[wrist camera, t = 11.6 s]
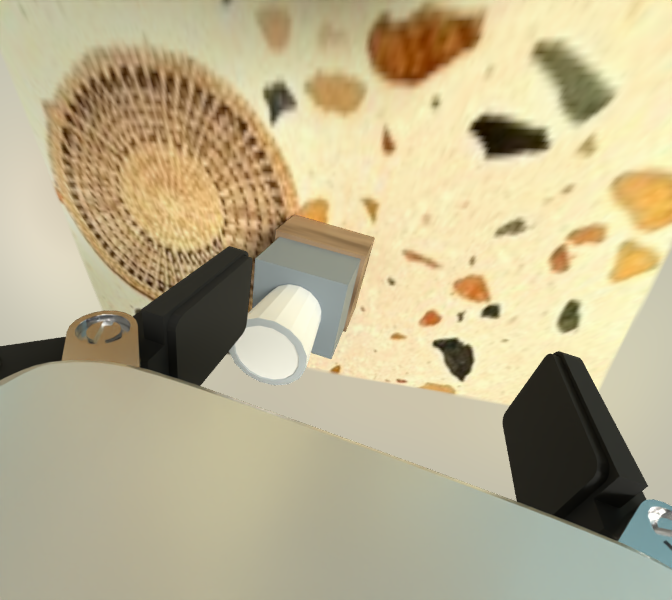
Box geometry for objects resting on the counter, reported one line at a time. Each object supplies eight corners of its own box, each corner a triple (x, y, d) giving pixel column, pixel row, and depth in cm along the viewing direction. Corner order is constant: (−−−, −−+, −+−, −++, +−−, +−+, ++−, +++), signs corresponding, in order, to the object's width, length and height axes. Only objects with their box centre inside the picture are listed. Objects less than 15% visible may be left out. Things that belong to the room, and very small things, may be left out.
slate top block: (279, 236, 38) (255, 258, 33) (360, 258, 37) (348, 285, 32) (273, 305, 43) (250, 333, 38) (344, 327, 42) (331, 359, 37)
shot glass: (323, 278, 32) (299, 320, 26) (331, 340, 36) (311, 389, 30) (254, 277, 34) (217, 317, 28) (267, 336, 37) (237, 382, 31)
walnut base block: (295, 214, 43) (275, 230, 38) (374, 237, 42) (365, 256, 37) (285, 284, 48) (267, 306, 43) (355, 306, 47) (345, 331, 42)
